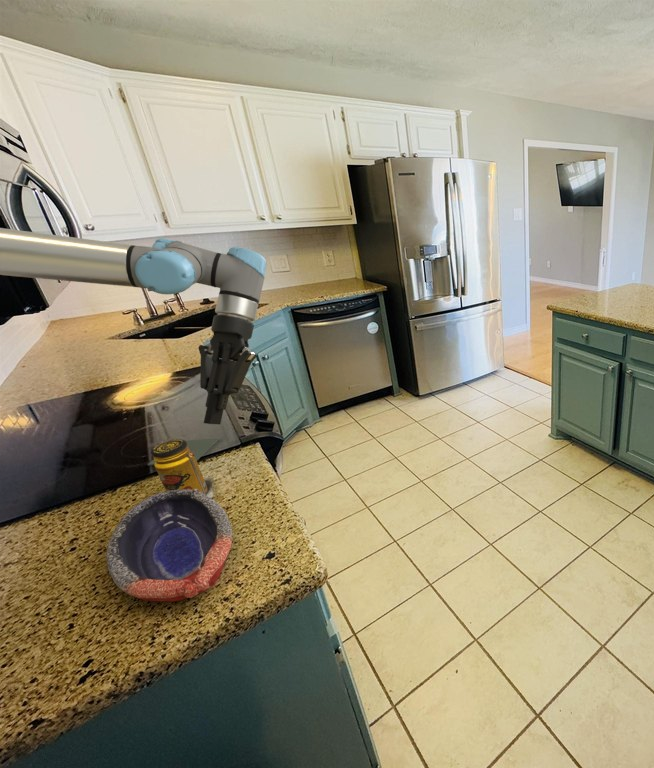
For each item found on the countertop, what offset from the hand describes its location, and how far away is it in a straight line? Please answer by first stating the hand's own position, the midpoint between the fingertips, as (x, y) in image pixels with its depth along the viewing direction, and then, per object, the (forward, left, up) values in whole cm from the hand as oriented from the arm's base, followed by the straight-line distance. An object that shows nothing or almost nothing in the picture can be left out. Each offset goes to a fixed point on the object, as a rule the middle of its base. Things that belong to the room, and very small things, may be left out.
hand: (212, 423), depth 88 cm
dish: (+13, -25, -10) cm, 30 cm away
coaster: (-13, +3, -10) cm, 17 cm away
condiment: (+2, -11, -10) cm, 15 cm away
